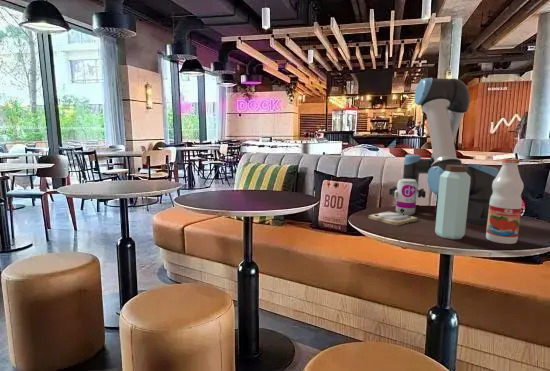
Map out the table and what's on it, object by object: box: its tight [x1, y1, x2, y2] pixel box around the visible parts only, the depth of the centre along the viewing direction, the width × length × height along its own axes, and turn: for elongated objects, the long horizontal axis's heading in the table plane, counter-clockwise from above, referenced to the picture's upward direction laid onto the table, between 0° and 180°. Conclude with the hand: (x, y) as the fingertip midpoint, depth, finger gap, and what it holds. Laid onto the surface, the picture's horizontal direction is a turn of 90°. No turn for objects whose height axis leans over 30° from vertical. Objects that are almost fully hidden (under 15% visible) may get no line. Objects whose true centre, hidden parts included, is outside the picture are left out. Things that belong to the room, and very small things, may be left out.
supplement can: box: [395, 178, 418, 216], centre depth 168 cm, size 8×8×15 cm
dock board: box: [367, 210, 418, 226], centre depth 157 cm, size 14×14×2 cm
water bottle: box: [434, 164, 471, 240], centre depth 133 cm, size 10×10×25 cm
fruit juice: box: [485, 158, 525, 245], centre depth 129 cm, size 9×9×28 cm
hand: (405, 195), depth 164 cm, fingers closed on supplement can, 8 cm apart
